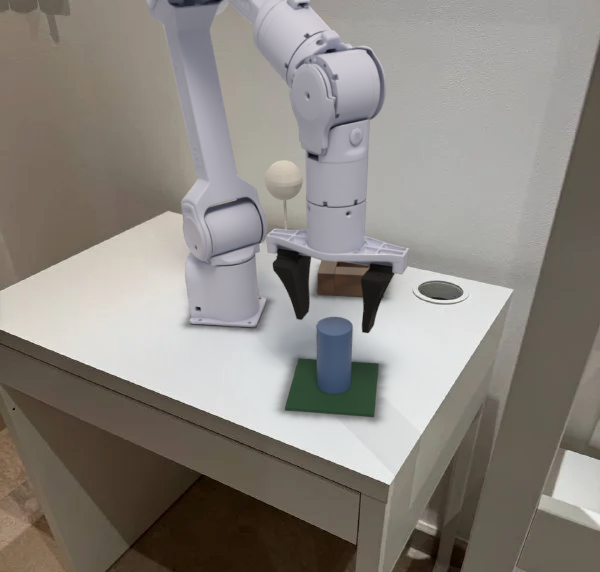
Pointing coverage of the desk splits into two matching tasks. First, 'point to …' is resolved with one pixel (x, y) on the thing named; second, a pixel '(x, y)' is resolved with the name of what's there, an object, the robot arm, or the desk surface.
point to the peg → (334, 354)
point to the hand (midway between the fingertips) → (334, 321)
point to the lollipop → (284, 182)
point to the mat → (348, 403)
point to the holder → (340, 278)
